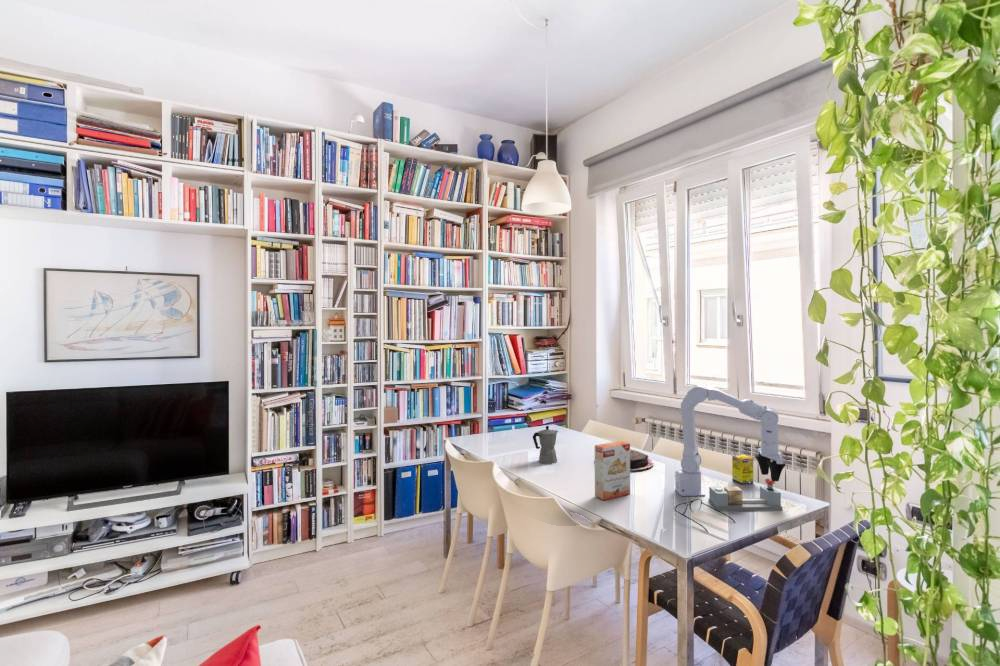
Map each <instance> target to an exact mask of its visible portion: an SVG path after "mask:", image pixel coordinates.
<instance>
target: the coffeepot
mask: <svg viewBox="0 0 1000 666" xmlns="http://www.w3.org/2000/svg"><path fill="white" fill-rule="evenodd" d="M549 427H550V426H549V425H546V426H545V429H542V430H539V431H537V432H534V433H533V435H532V439H533V443H534V446H535V448H536V450H537V449H538V450H539V449H540V450H539V457H538V462H539V463H540V464H544V465H552V463H554V464H556V463H557V462H558V458H557V452H556V449H555V445H556V441H557V435H558V434H557V433H558V432H559V430H556V429H550V428H549ZM537 437H538V439H539V443H538V441H537ZM538 444H539V445H540V446H538Z"/></svg>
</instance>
